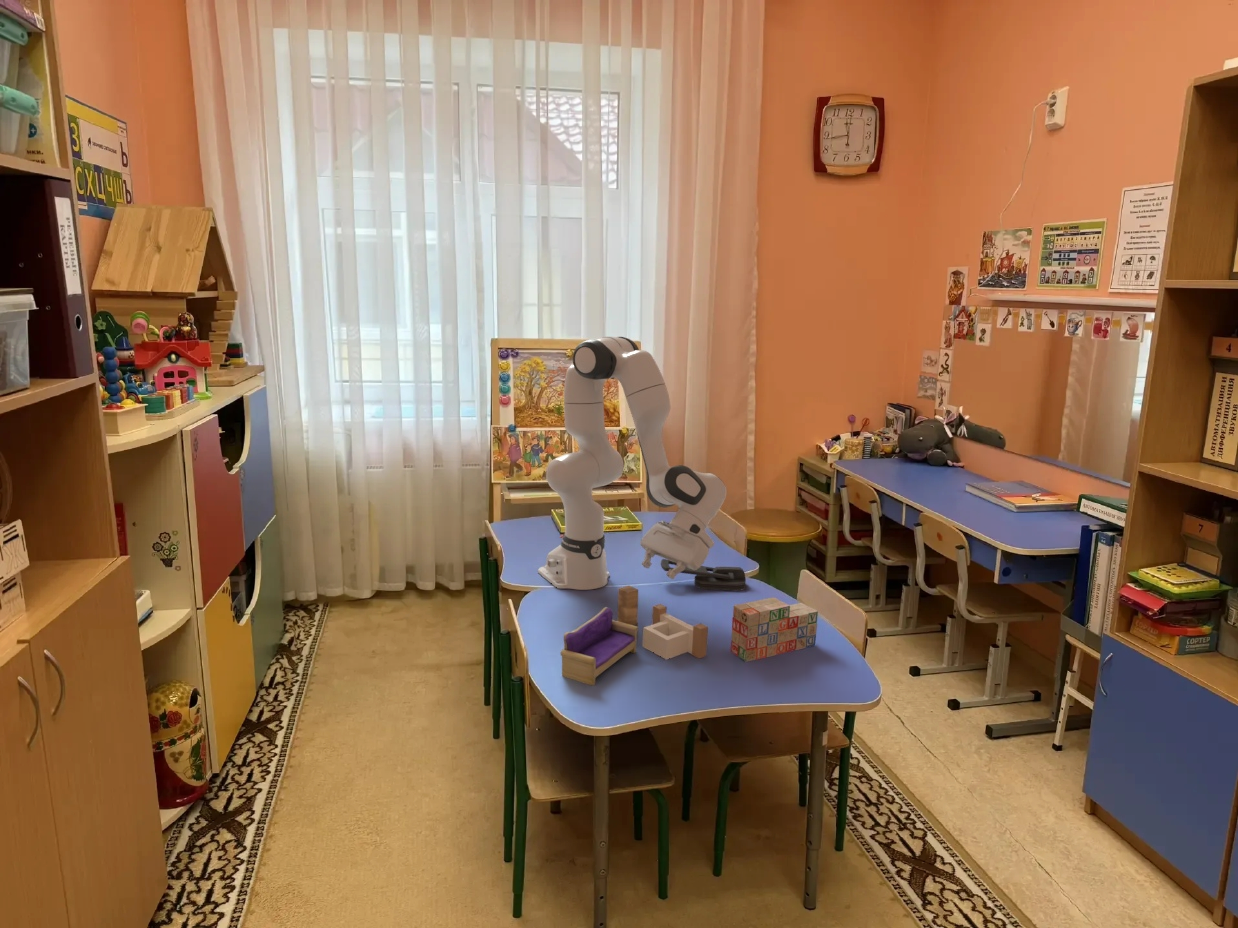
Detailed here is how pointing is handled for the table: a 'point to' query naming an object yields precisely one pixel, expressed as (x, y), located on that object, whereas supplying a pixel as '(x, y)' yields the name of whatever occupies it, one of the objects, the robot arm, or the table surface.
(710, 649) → the table surface
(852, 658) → the table surface
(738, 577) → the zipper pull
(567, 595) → the table surface
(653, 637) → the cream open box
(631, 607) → the wooden block
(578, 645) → the toy sofa
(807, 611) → the stack of blocks
